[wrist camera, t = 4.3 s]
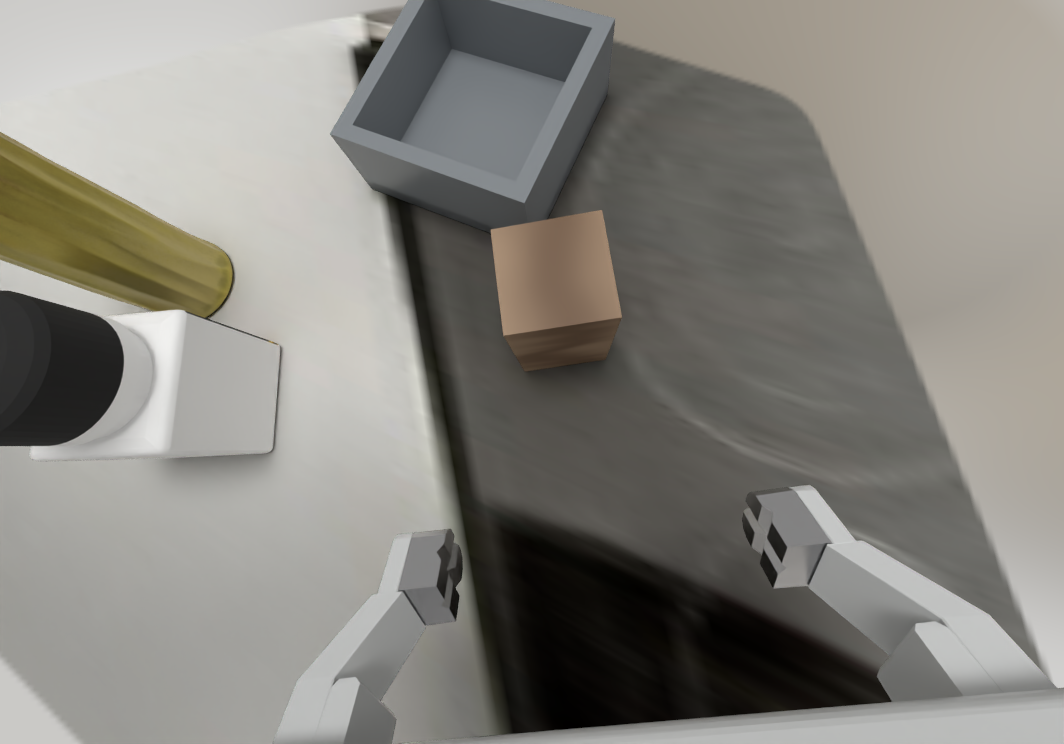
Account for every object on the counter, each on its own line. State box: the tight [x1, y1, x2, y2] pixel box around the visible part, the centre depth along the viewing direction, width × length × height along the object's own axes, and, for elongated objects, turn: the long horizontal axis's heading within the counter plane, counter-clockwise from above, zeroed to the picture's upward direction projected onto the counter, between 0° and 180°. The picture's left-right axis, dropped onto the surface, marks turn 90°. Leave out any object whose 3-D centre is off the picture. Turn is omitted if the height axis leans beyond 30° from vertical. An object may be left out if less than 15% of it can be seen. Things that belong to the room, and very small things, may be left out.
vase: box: [0, 132, 233, 318], centre depth 21 cm, size 6×6×14 cm
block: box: [491, 210, 622, 371], centre depth 21 cm, size 5×5×8 cm
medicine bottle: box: [0, 291, 280, 461], centre depth 20 cm, size 7×7×12 cm
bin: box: [330, 0, 615, 233], centre depth 25 cm, size 13×13×5 cm
